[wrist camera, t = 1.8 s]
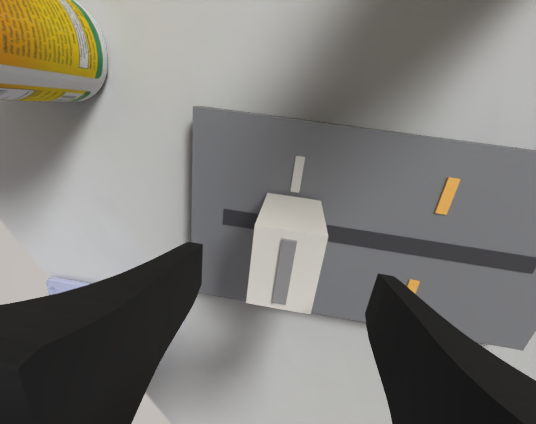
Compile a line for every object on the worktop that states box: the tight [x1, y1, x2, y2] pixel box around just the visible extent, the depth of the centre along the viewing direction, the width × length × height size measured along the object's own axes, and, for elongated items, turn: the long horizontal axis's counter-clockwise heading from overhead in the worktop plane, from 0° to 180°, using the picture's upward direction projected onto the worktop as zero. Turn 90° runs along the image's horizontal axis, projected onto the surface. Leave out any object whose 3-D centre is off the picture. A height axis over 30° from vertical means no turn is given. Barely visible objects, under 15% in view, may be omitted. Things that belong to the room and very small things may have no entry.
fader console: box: [191, 106, 536, 350], centre depth 16 cm, size 12×22×2 cm, turn 83°
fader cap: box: [246, 193, 328, 315], centre depth 14 cm, size 4×3×5 cm
